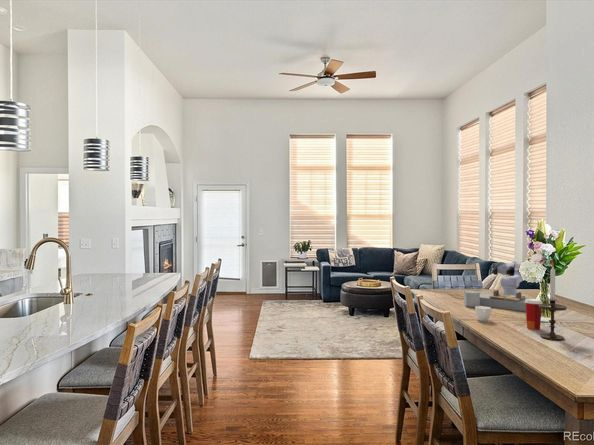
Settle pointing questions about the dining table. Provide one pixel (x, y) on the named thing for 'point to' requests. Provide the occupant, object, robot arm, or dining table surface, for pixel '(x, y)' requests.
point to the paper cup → (533, 313)
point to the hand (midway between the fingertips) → (500, 272)
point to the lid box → (502, 303)
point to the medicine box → (472, 299)
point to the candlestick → (552, 309)
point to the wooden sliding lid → (498, 295)
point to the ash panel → (514, 297)
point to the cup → (483, 313)
